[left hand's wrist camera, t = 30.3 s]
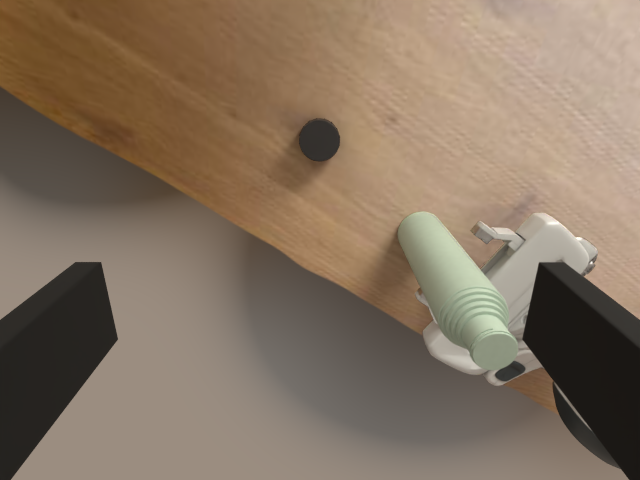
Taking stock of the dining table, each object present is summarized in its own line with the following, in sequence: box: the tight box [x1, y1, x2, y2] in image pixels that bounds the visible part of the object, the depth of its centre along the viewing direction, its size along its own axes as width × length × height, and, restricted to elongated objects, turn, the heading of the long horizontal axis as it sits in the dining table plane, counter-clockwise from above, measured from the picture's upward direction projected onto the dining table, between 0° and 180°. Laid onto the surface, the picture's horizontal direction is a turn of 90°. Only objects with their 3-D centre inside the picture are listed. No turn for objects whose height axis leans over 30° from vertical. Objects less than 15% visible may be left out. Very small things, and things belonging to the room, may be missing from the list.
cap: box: [299, 118, 340, 161], centre depth 45 cm, size 4×4×2 cm
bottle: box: [398, 212, 518, 370], centre depth 40 cm, size 6×6×23 cm
